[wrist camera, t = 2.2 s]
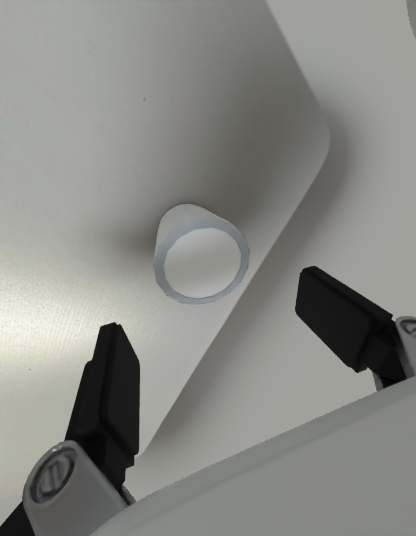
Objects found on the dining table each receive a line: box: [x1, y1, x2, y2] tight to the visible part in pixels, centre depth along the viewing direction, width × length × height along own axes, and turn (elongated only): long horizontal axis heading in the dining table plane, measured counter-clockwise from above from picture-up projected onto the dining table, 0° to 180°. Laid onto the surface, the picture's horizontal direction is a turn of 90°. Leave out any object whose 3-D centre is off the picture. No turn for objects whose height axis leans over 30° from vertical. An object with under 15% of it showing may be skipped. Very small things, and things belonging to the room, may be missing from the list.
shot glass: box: [153, 204, 249, 305], centre depth 17 cm, size 7×7×7 cm
